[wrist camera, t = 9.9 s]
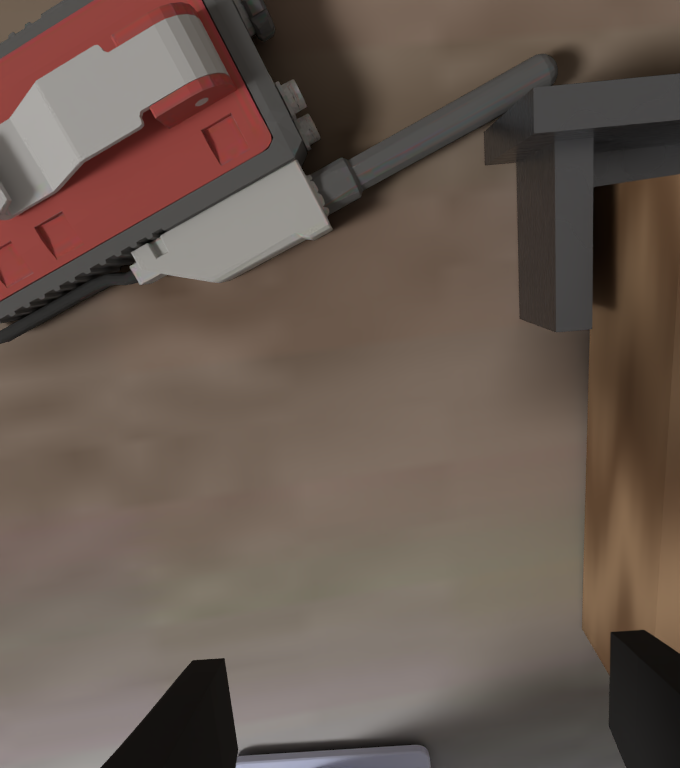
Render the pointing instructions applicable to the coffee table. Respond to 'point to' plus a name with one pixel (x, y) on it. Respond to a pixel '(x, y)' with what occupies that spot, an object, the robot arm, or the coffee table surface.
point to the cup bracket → (578, 178)
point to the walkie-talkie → (173, 150)
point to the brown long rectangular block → (634, 416)
